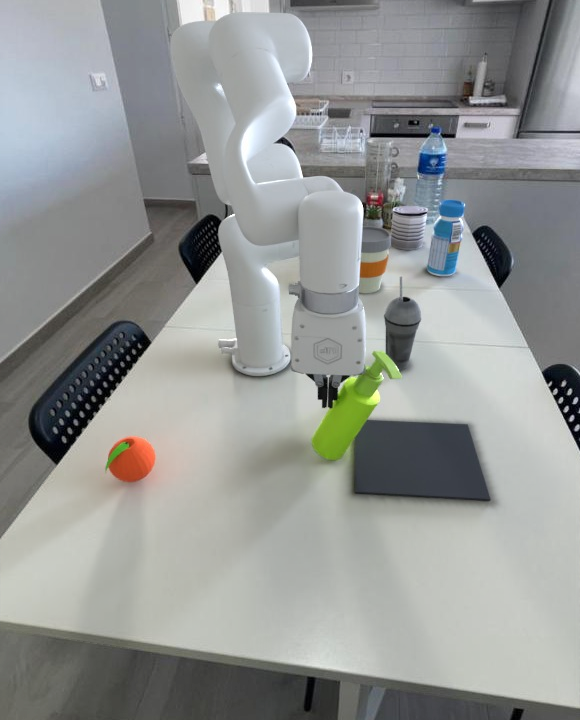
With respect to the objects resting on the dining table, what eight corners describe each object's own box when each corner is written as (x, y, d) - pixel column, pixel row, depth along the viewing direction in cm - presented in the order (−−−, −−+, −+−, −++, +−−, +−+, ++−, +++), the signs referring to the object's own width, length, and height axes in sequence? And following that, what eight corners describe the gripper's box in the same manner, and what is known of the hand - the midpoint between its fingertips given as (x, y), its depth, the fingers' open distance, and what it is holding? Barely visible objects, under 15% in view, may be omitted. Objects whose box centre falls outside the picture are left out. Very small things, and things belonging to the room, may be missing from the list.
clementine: (128, 503, 67) (116, 471, 63) (99, 484, 70) (85, 452, 66) (168, 468, 72) (159, 436, 68) (139, 451, 75) (129, 420, 71)
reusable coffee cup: (393, 282, 127) (399, 230, 118) (374, 300, 118) (379, 246, 109) (354, 273, 132) (357, 222, 124) (333, 289, 124) (334, 236, 115)
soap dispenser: (324, 467, 70) (383, 376, 59) (305, 433, 74) (358, 342, 63) (352, 462, 74) (414, 375, 62) (333, 430, 78) (388, 343, 67)
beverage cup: (413, 376, 91) (427, 287, 80) (377, 372, 92) (386, 284, 81) (414, 356, 97) (427, 270, 85) (380, 352, 98) (388, 268, 87)
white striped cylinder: (388, 249, 147) (392, 212, 140) (389, 236, 156) (392, 202, 149) (424, 250, 146) (429, 214, 139) (422, 238, 155) (427, 203, 148)
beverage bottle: (425, 275, 130) (435, 206, 119) (427, 264, 137) (437, 197, 125) (455, 278, 128) (468, 208, 117) (456, 267, 135) (469, 199, 123)
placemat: (355, 493, 68) (355, 491, 68) (354, 420, 81) (354, 419, 81) (490, 500, 66) (490, 499, 66) (467, 425, 79) (467, 424, 79)
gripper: (267, 306, 55) (275, 416, 66) (389, 309, 54) (378, 421, 64) (276, 280, 61) (282, 385, 72) (386, 282, 60) (376, 388, 71)
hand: (327, 402), depth 68 cm, fingers closed
